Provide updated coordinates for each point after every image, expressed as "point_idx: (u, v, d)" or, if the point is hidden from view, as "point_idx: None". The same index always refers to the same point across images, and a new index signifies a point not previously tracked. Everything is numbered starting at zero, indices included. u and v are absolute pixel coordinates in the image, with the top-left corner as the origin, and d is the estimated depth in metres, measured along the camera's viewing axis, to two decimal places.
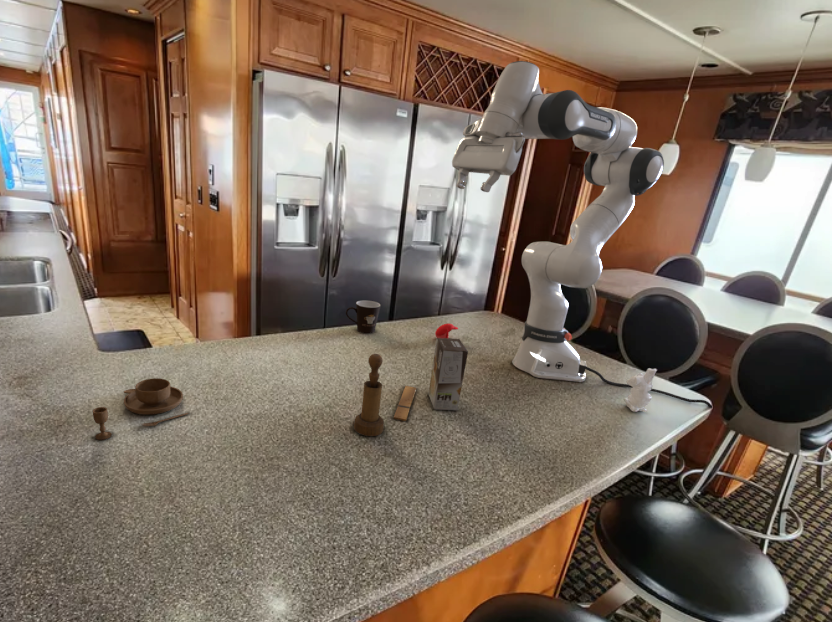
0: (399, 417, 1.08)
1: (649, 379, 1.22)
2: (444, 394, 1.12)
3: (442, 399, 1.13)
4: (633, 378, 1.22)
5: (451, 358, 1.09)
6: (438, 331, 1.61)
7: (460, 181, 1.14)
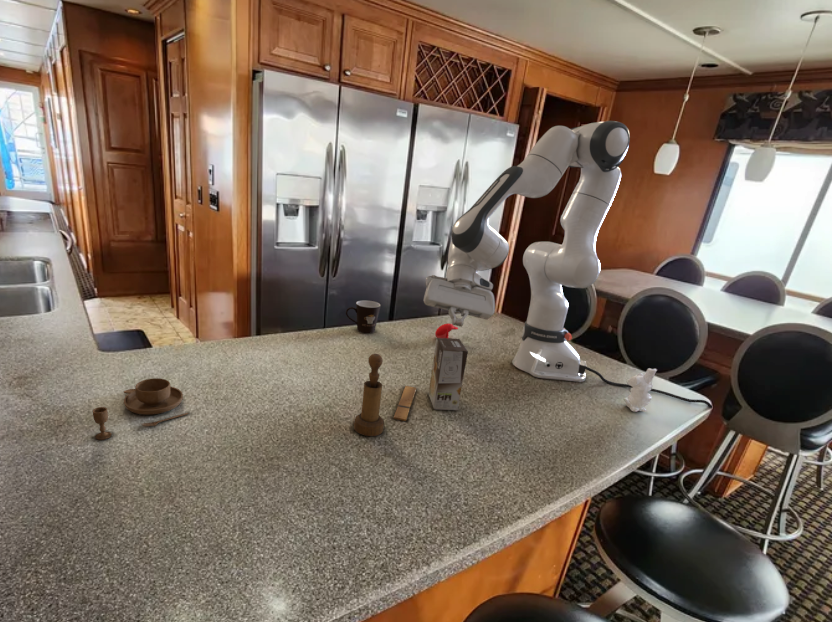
0: (399, 417, 1.08)
1: (649, 379, 1.22)
2: (444, 394, 1.12)
3: (442, 399, 1.13)
4: (633, 378, 1.22)
5: (451, 358, 1.09)
6: (438, 331, 1.61)
7: None
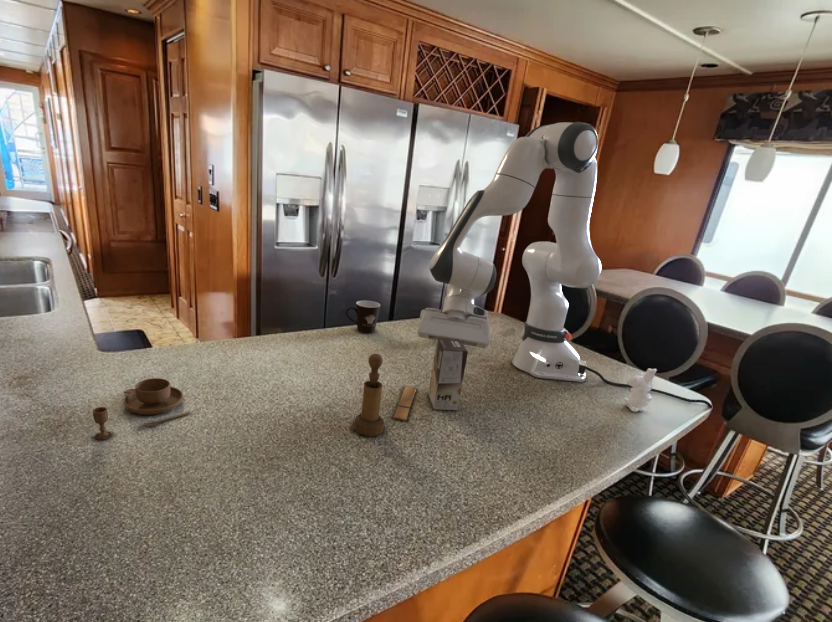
0: (399, 417, 1.08)
1: (649, 379, 1.22)
2: (444, 394, 1.12)
3: (442, 399, 1.13)
4: (633, 378, 1.22)
5: (451, 358, 1.09)
6: None
7: None
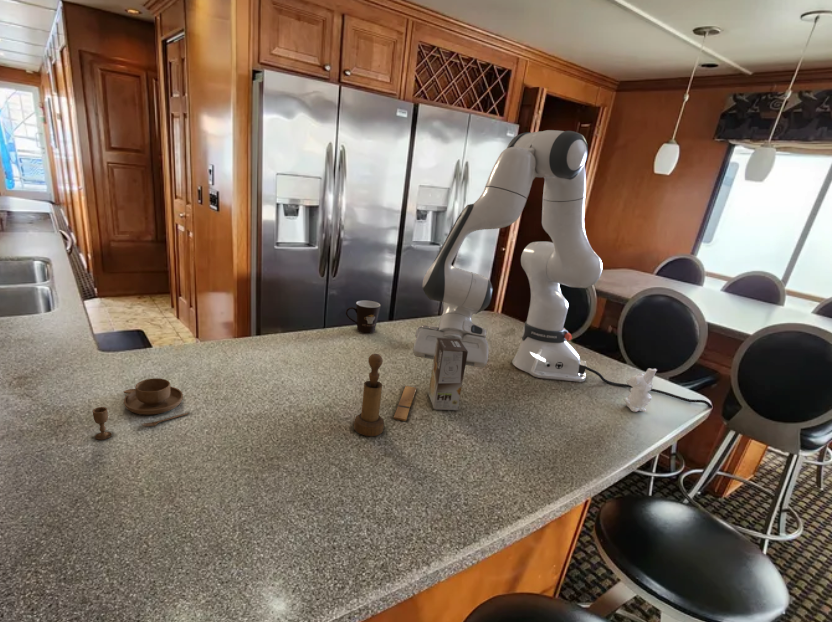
0: (399, 417, 1.08)
1: (649, 379, 1.22)
2: (444, 394, 1.12)
3: (442, 399, 1.13)
4: (633, 378, 1.22)
5: (451, 358, 1.09)
6: None
7: None
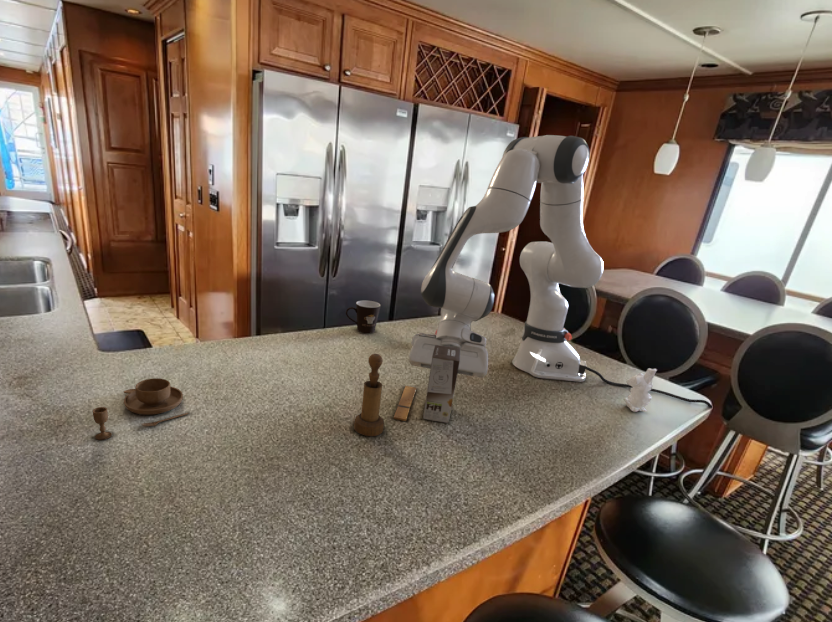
0: (399, 417, 1.08)
1: (649, 379, 1.22)
2: (434, 404, 1.07)
3: (431, 409, 1.08)
4: (633, 378, 1.22)
5: (441, 367, 1.04)
6: None
7: None
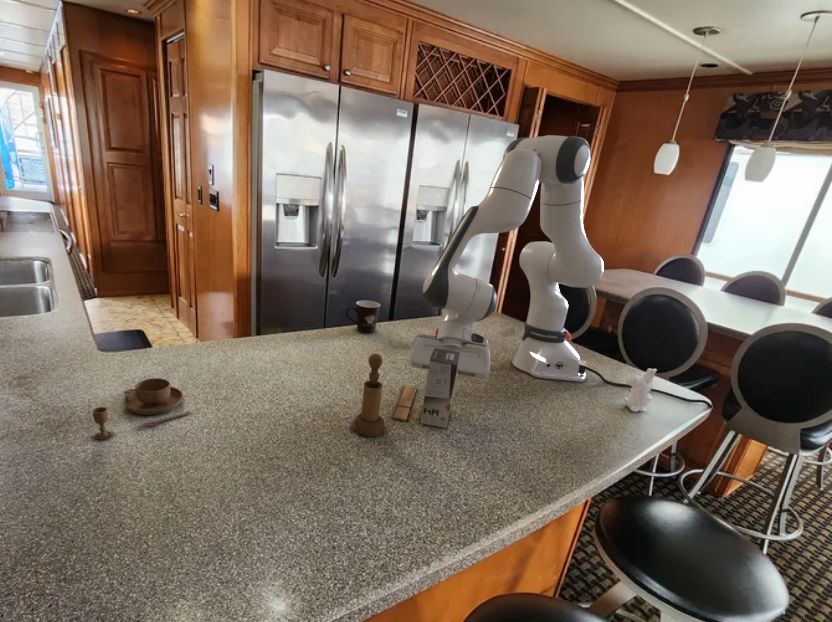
0: (399, 417, 1.08)
1: (649, 379, 1.22)
2: (431, 408, 1.05)
3: (429, 413, 1.05)
4: (633, 378, 1.22)
5: (438, 370, 1.02)
6: None
7: None
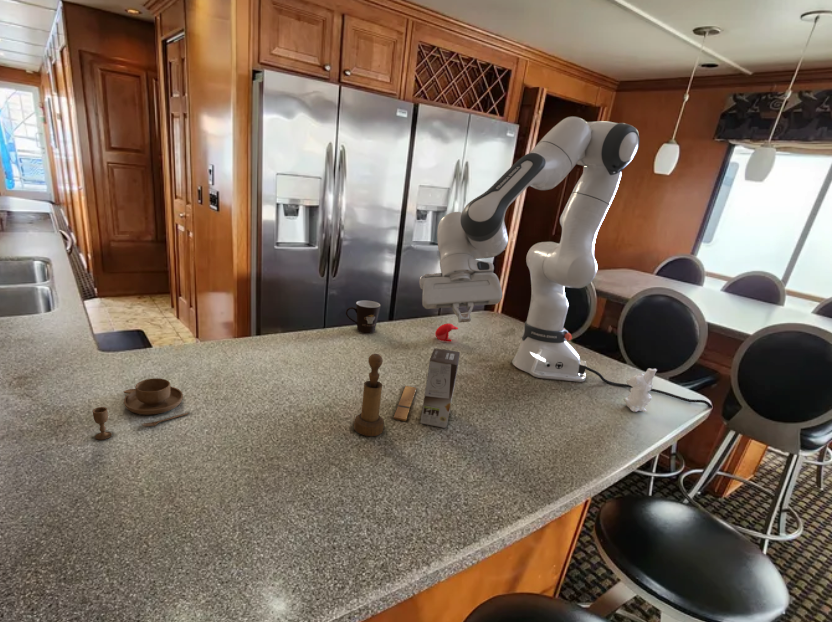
0: (399, 417, 1.08)
1: (649, 379, 1.22)
2: (431, 408, 1.05)
3: (429, 413, 1.05)
4: (633, 378, 1.22)
5: (438, 370, 1.02)
6: (438, 331, 1.61)
7: None
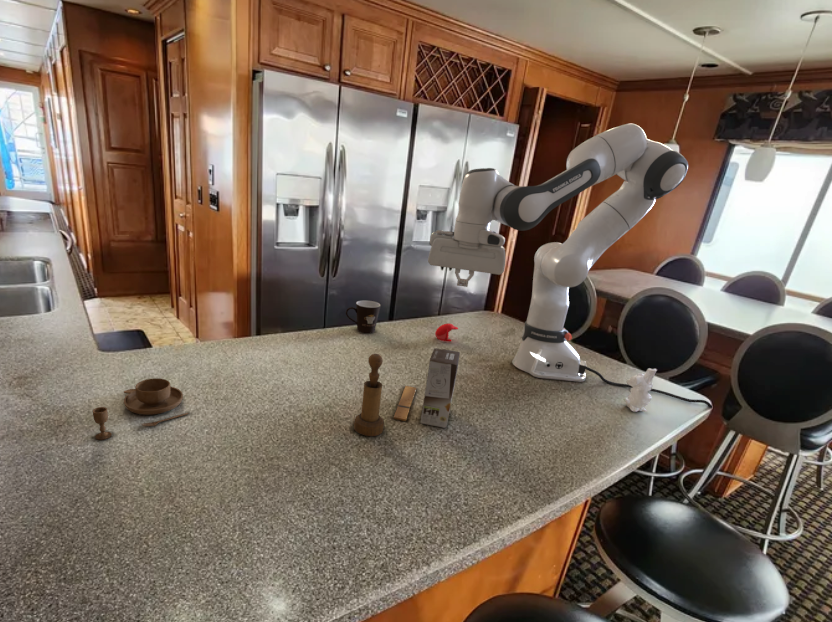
0: (399, 417, 1.08)
1: (649, 379, 1.22)
2: (431, 408, 1.05)
3: (429, 413, 1.05)
4: (633, 378, 1.22)
5: (438, 370, 1.02)
6: (438, 331, 1.61)
7: None
